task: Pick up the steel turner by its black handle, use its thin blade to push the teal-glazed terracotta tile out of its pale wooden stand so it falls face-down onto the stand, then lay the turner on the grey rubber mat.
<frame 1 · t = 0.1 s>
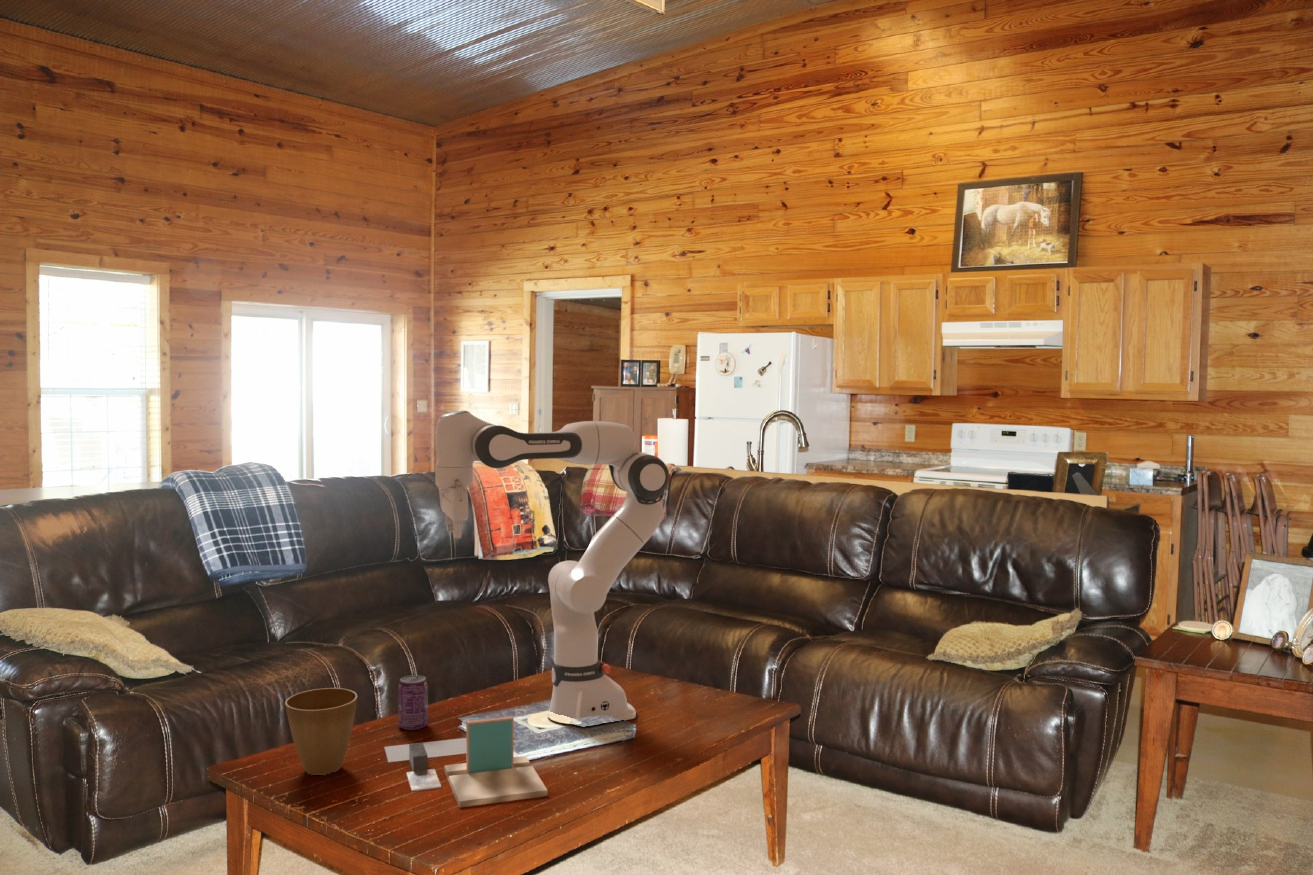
hand: (454, 534, 246), 48 cm above the table, tool pointing down, fingers open, 8 cm apart
beverage can: (413, 727, 250), on the table
tile: (489, 774, 219), resting on tile stand
tile stand: (489, 775, 219), on the table
tool mat: (435, 750, 234), on the table
plant pot: (322, 770, 222), on the table
turner: (422, 780, 216), on the table
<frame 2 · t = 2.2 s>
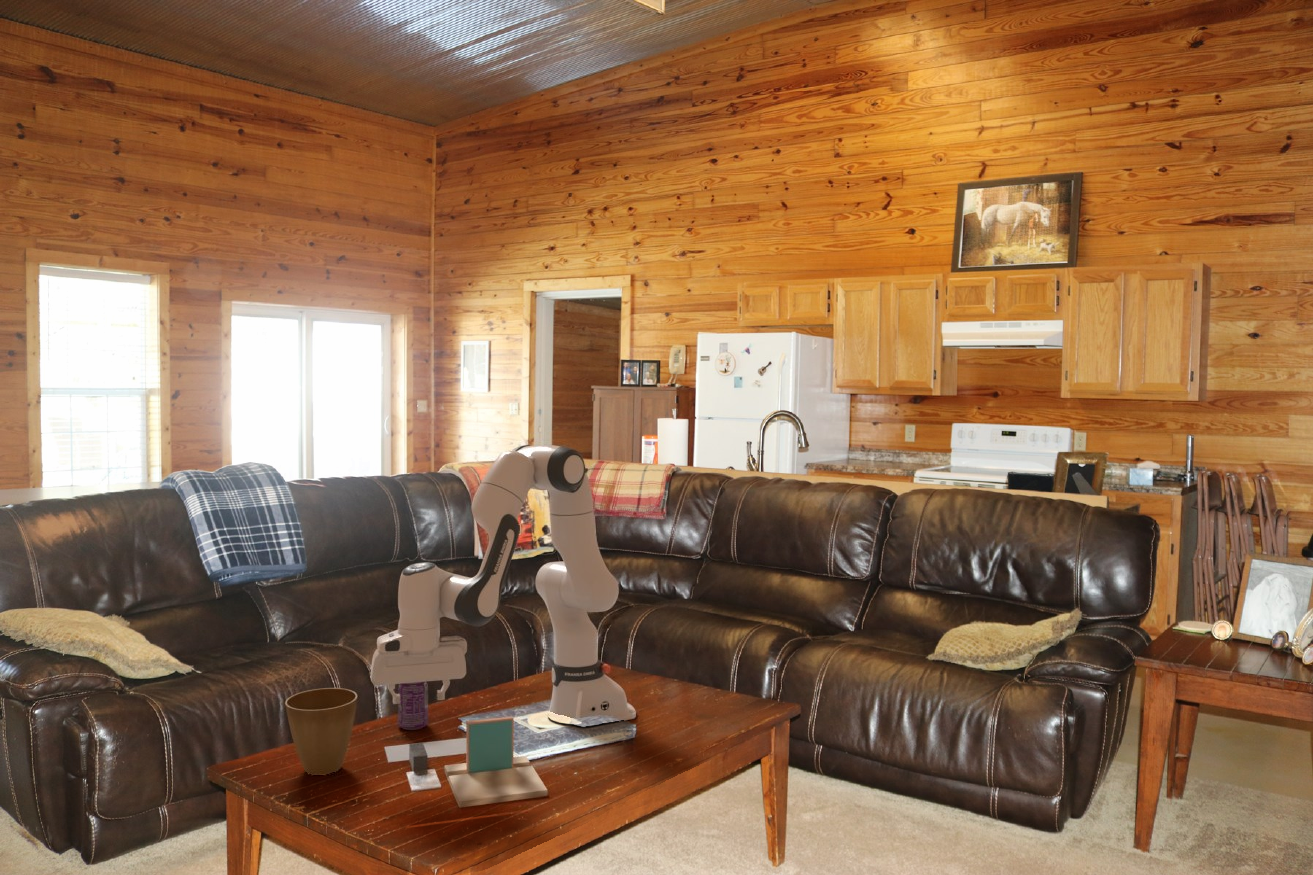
hand: (418, 701, 221), 15 cm above the table, tool pointing down, fingers open, 8 cm apart
nothing on the table moved.
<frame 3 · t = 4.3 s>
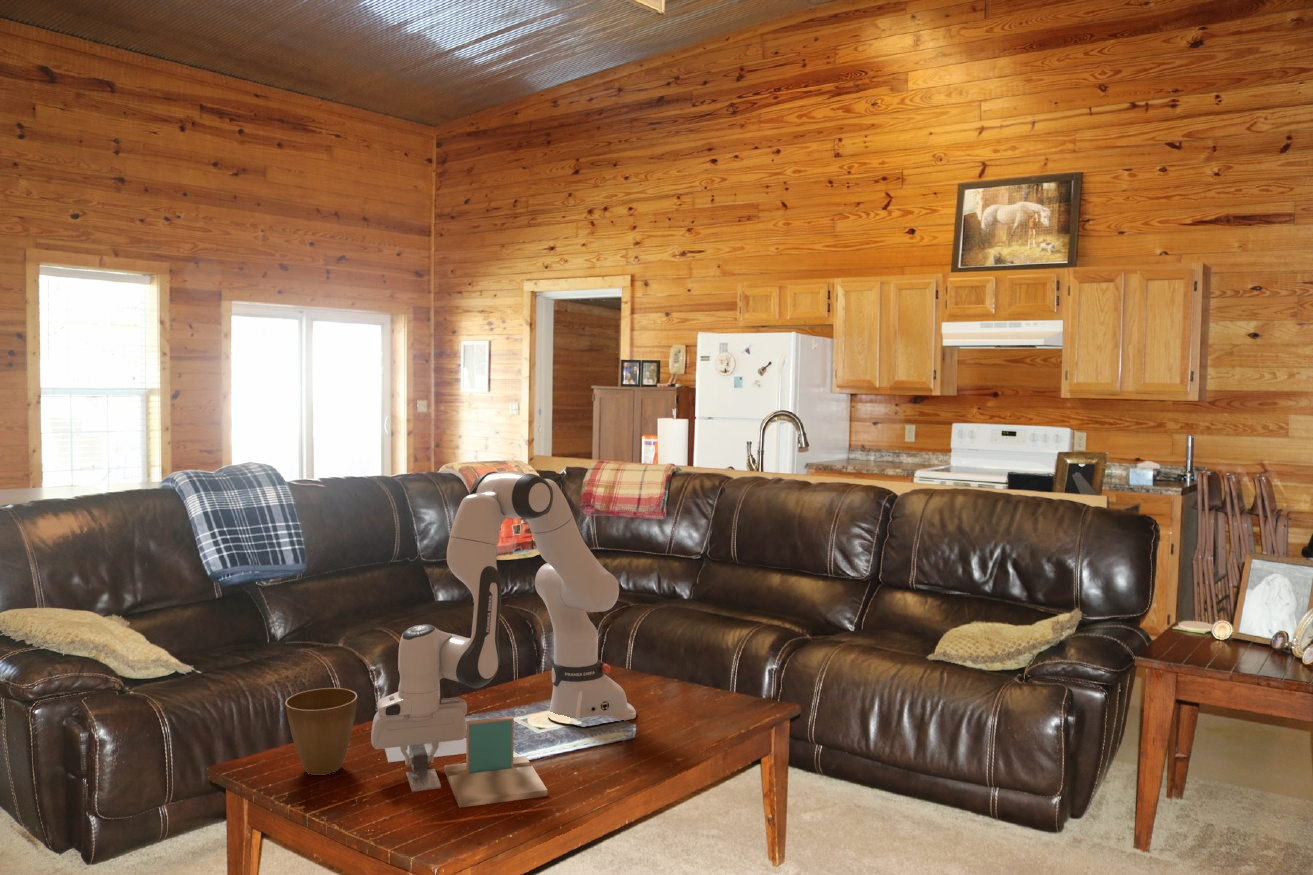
hand: (419, 763, 222), 2 cm above the table, tool pointing down, fingers closed on turner, 3 cm apart
turner: (422, 780, 216), on the table, touching gripper
everything else where it was.
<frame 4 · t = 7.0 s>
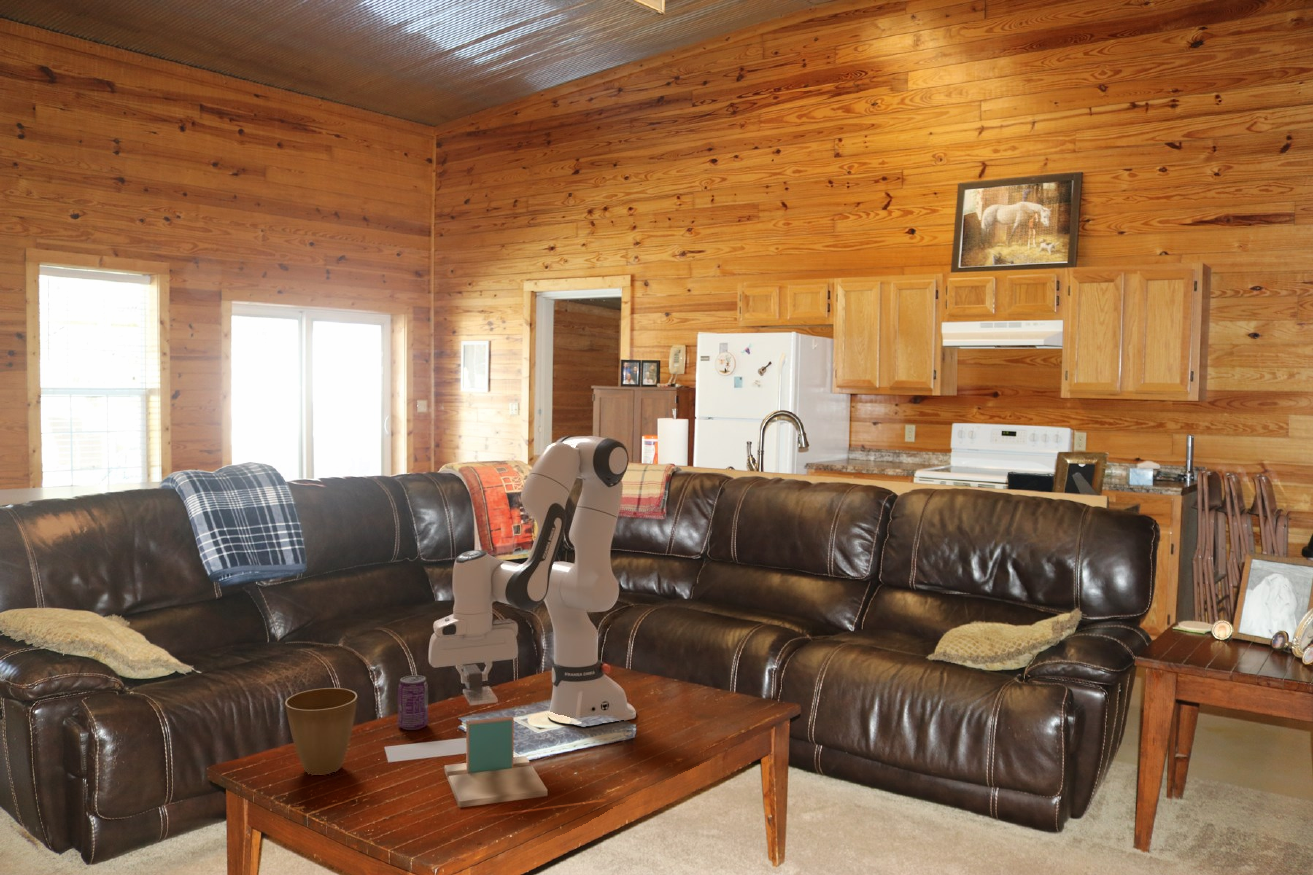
hand: (474, 681, 233), 16 cm above the table, tool pointing down, fingers closed on turner, 3 cm apart
turner: (479, 695, 228), point 15 cm above the table, touching gripper
everything else where it was.
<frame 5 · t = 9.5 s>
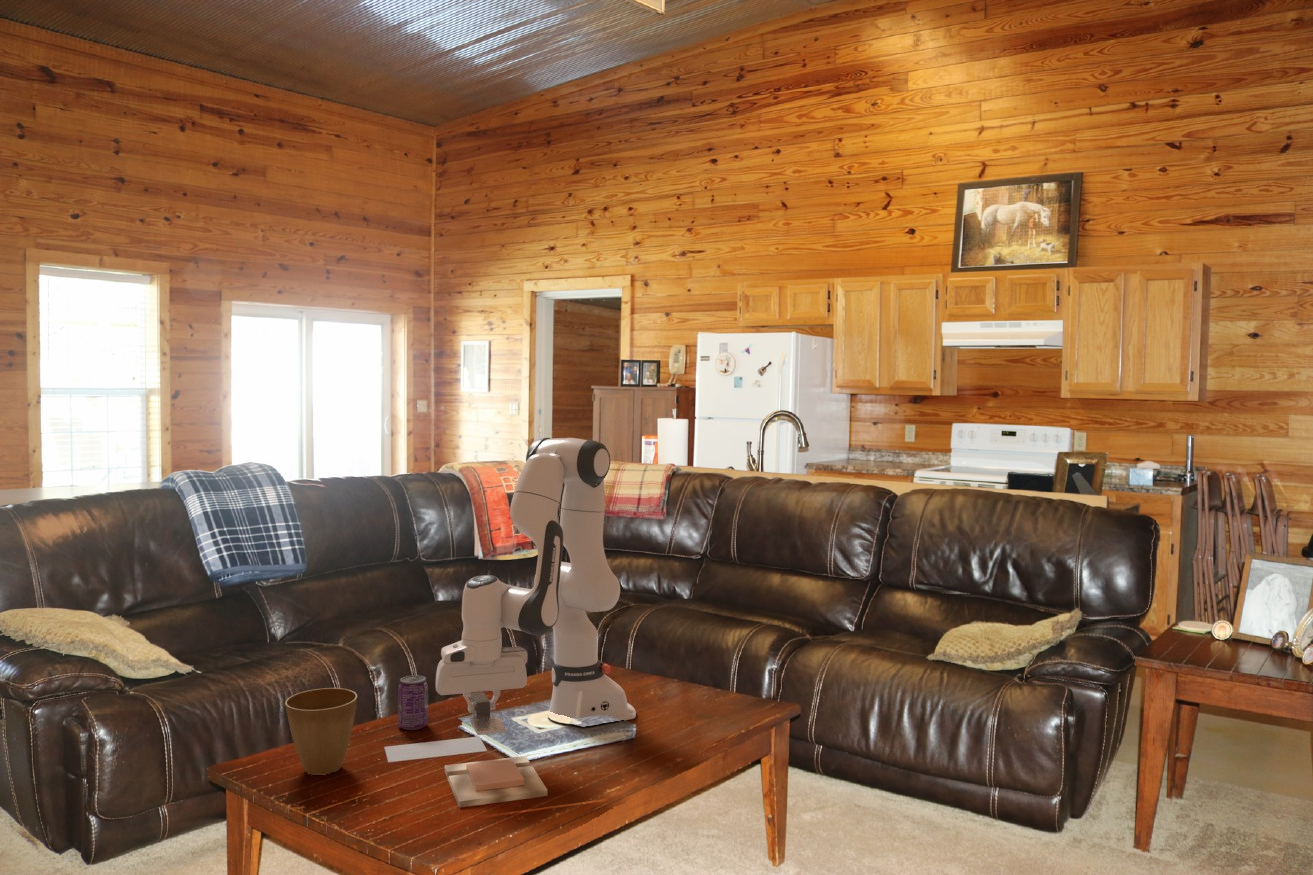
hand: (481, 709, 228), 11 cm above the table, tool pointing down, fingers closed on turner, 3 cm apart
tile: (489, 764, 220), point 2 cm above the table, tilted 90°, touching tile stand
turner: (486, 725, 222), point 10 cm above the table, touching gripper
everything else where it was.
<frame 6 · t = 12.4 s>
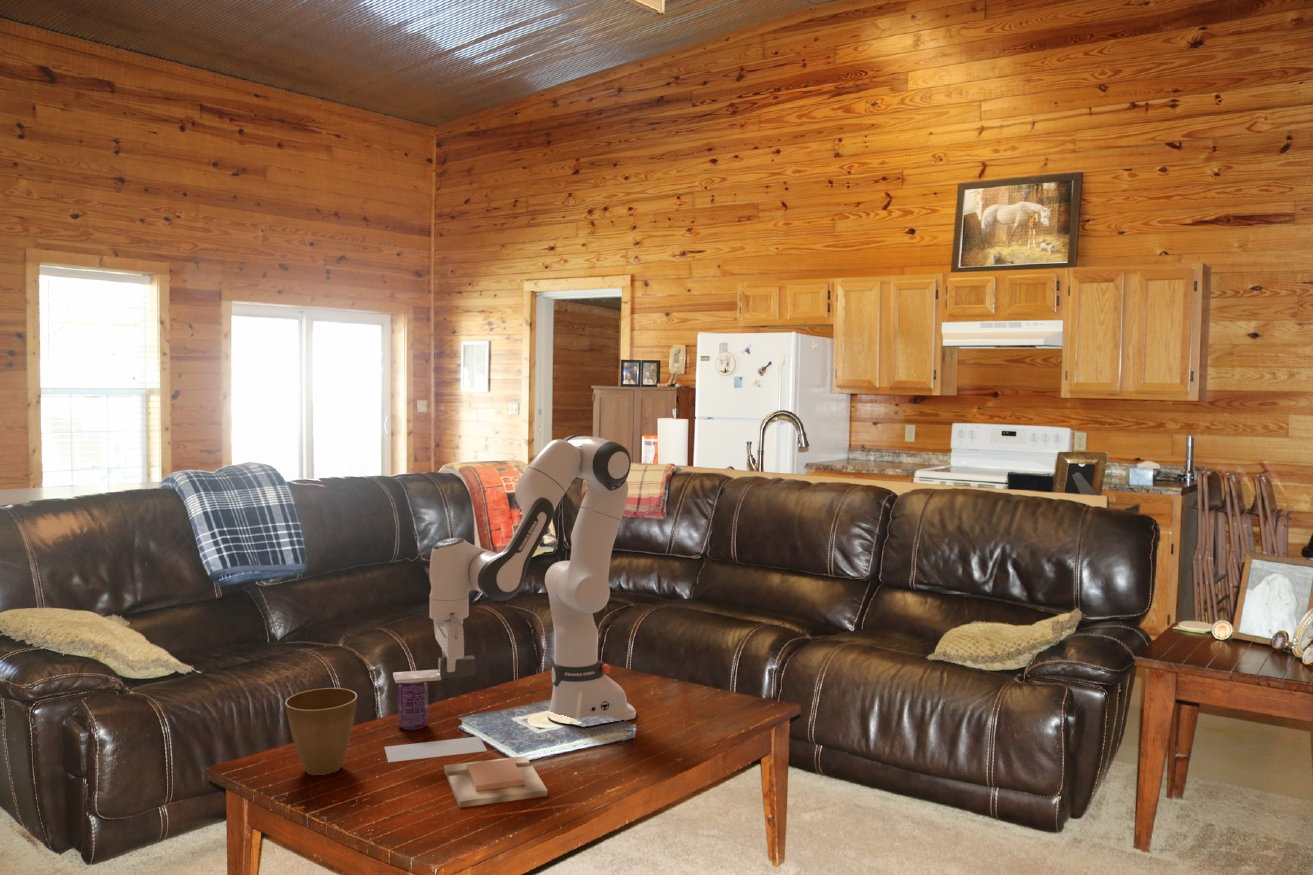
hand: (449, 668, 234), 19 cm above the table, tool pointing down, fingers closed on turner, 3 cm apart
turner: (421, 677, 232), point 17 cm above the table, touching gripper
everything else where it was.
when the fingers open (3 cm above the table, at t = 15.0 s): turner drops 1 cm, resting on tool mat.
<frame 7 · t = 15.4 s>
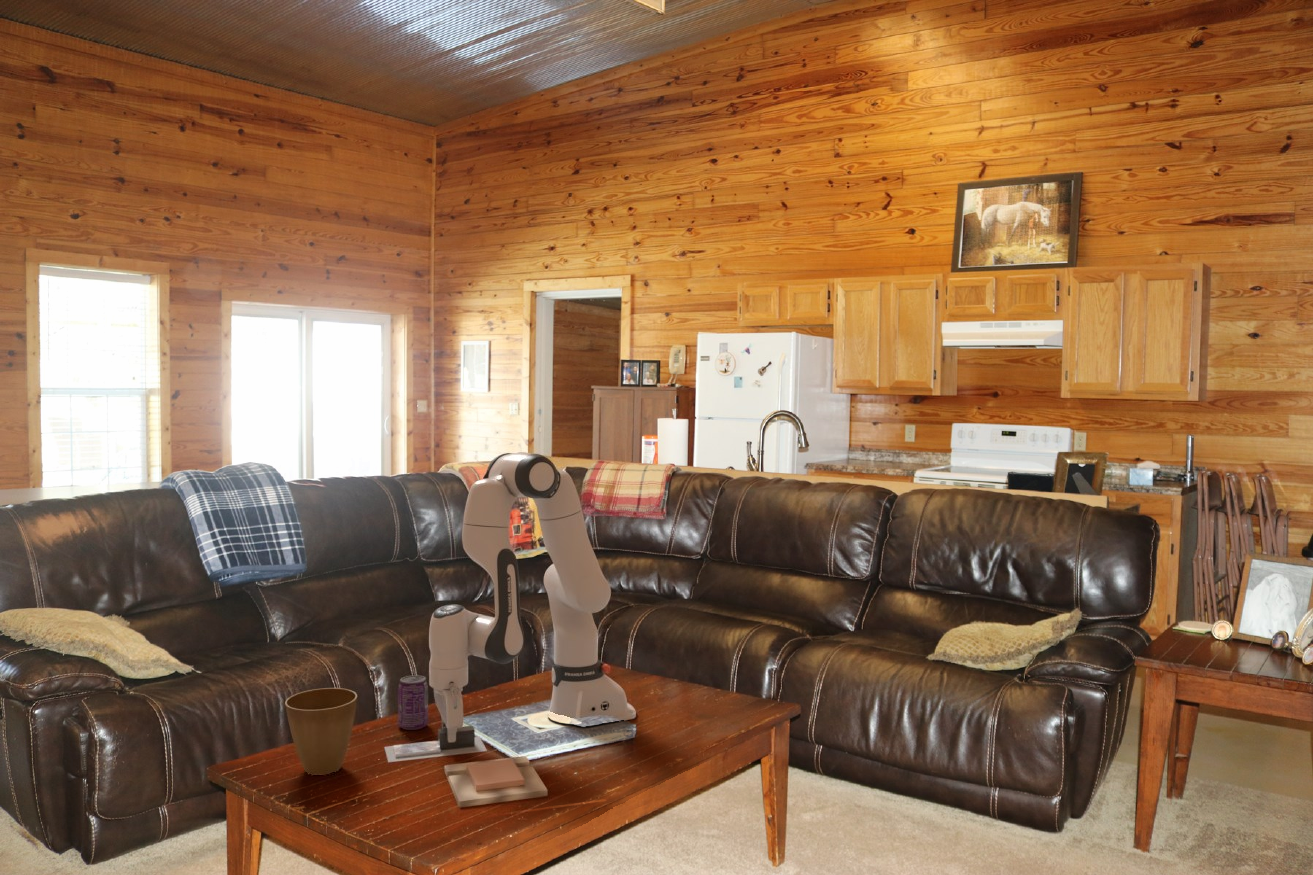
hand: (448, 735, 235), 3 cm above the table, tool pointing down, fingers open, 7 cm apart
turner: (421, 750, 233), resting on tool mat
everything else where it was.
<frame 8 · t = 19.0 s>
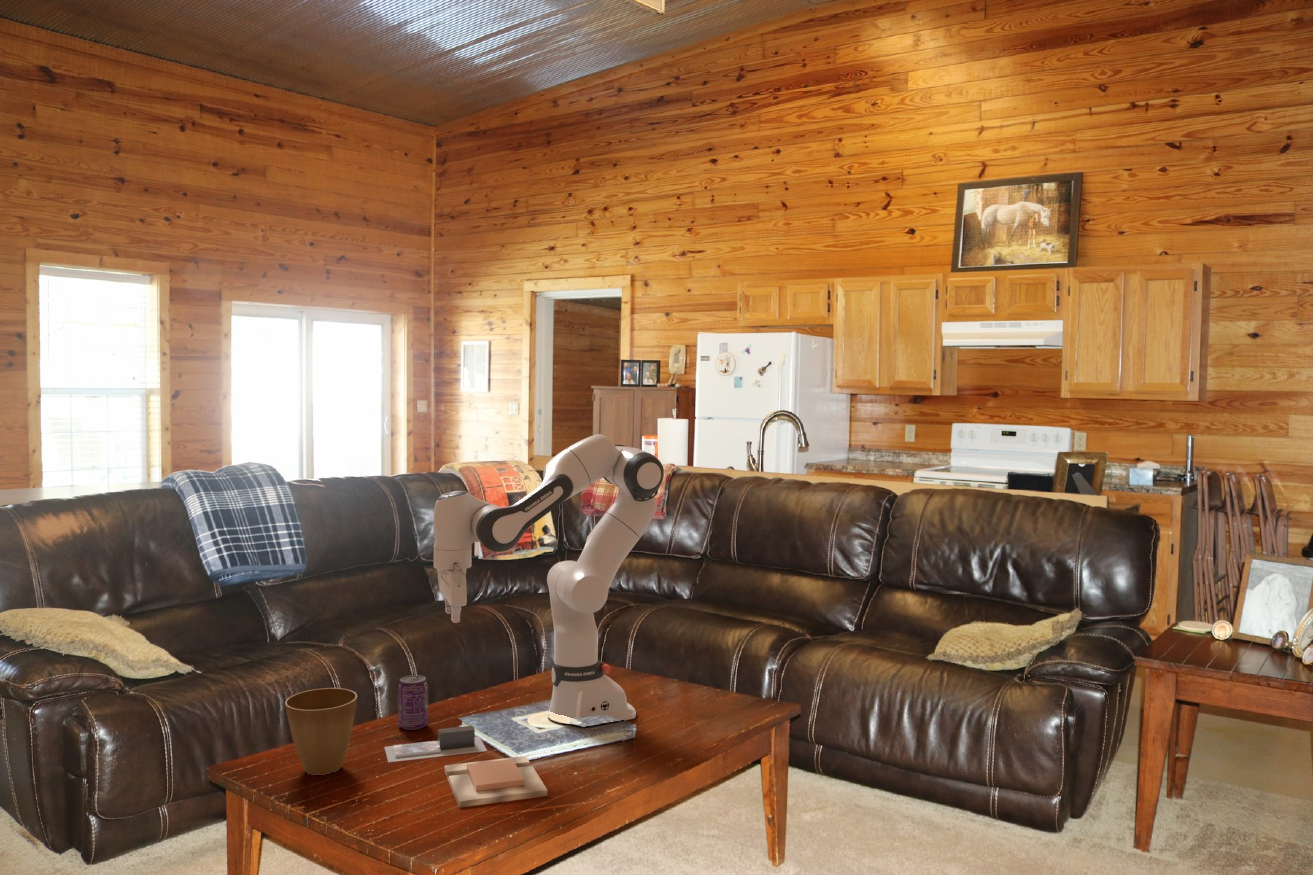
hand: (452, 617, 241), 29 cm above the table, tool pointing down, fingers open, 8 cm apart
nothing on the table moved.
at the end: tile tilted 90°; tile touching tile stand; turner inside the target area (0.3 cm from its centre), resting on tool mat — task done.
